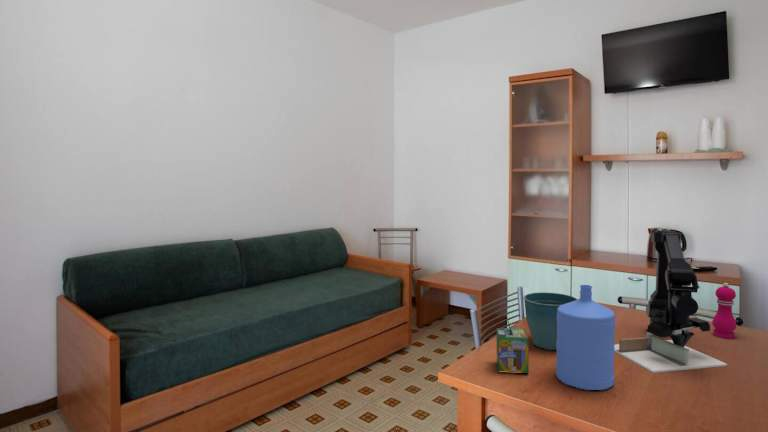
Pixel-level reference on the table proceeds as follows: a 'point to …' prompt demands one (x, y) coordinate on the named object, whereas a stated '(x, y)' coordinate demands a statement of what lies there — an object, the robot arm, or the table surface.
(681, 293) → the robot arm
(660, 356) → the card
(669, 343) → the hinged panel
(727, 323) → the pepper mill
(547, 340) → the flower pot
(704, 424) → the table surface
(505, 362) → the chalk box
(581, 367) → the water jug
